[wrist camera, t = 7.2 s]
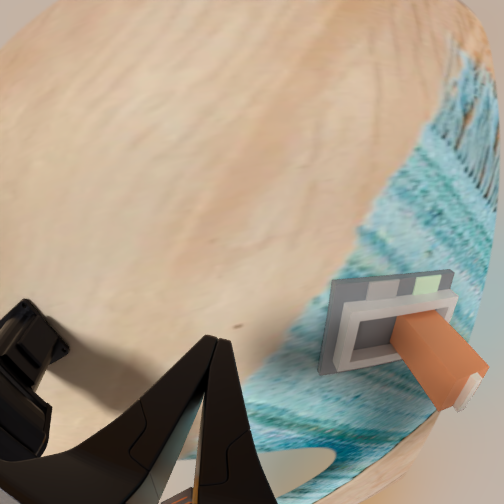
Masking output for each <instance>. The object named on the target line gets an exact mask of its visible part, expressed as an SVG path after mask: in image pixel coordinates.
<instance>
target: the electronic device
mask: <svg viewBox="0 0 504 504" xmlns="http://www.w3.org/2000/svg"><path fill="white" fill-rule="evenodd" d="M192 499H193V488H192V487H190V488H189V489H186V490H185V491H183V492H181V493H179V494H177V495H175V496H173V497H171V498H169V499H167V500H165V501H163V502H161V504H192Z"/></svg>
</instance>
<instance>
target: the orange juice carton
mask: <svg viewBox="0 0 504 504" xmlns="http://www.w3.org/2000/svg"><path fill="white" fill-rule="evenodd" d="M390 343H391V344H392V346H393V347H394V348H395V350H396V351H397V352H398V354H399V355H400V357H401V358H402V359H403V361H404V362H405V364H406V365H407V366H408V368H409V369H410V371H411V372H412V374H413V375H414V376H415V378H416V379H417V381H418V382H419V384H420V385H421V386H422V388H423V389H424V391H425V392H426V394H427V395H428V397H429V398H430V400H431V401H432V403H433V404H434V406H435V407H436V409H437V410H438V412H439V411H441V410H444V409H446V408H449V407H451V406H453V407H454V408H455V409H456V411H457V412H459V411H461V410H464V409H465V407H466V405H467V404H468V402H469V401H470V399H471V397H472V396H473V395H474V393H475V391H476V390H477V388H478V386H479V385H480V383H481V381H482V379H483V378H484V376H485V374H486V372H487V370H488V369H489V366H488V365H487V364H486V362H485V361H484V360H483V359H482V358H481V357H480V356H479V355H478V354H477V353H476V352H475V350H474V349H472V347H471V346H470V345H469V344H468V343H467V342H466V341H465V340H464V339H463V338H462V337H461V336H460V335H459V334H458V333H457V332H456V331H455V329H454V328H453V327H452V326H451V325H450V324H449V323H448V322H447V321H446V320H445V319H444V318H443V317H442V316H441V315H440V314H439V313H438V312H437V311H436V310H435V309H434V310H428V311H423V312H417V313H412V314H406V315H400V316H397V318H396V322H395V325H394V328H393V332H392V335H391V338H390Z"/></svg>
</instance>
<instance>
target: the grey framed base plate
mask: <svg viewBox="0 0 504 504" xmlns="http://www.w3.org/2000/svg"><path fill="white" fill-rule="evenodd" d="M453 277H454V272H453V271H452V270H450V269H447V270H438V271H428V272H418V273H408V274H397V275H386V276H374V277H363V278H350V279H337V280H332V285H331V292H330V299H329V306H328V312H327V319H326V325H325V331H324V337H323V342H322V348H321V354H320V359H319V364H318V369H317V370H318V373H319V375H320V376H321V375H327V374H333V373H339V372H345V371H351V370H356V369H362V368H367V367H372V366H377V365H381V364H386V363H390V362H395V361H399V360H403V359H402V358H401V357H400V355H399V354H398V352H397V351H396V350H395V348H394V347H393V346H392V344H391V343H390V338H391V335H392V332H393V328H394V325H395V322H396V318H397V316H400V315H406V314H412V313H417V312H423V311H428V310H434V309H435V310H436V311H437V312H438V313H439V314H440V315H441V316H442V317H443V318H444V319H445V320H446V321H447V322H448V323H450V320H451V317H452V315H453V312H454V309H455V306H456V303H457V300H458V297H459V296H458V295H457V294H456V293H454V292H453V291H452V290H451V289H450V287H451V284H452V280H453Z"/></svg>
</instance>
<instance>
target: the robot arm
mask: <svg viewBox="0 0 504 504" xmlns="http://www.w3.org/2000/svg"><path fill="white" fill-rule="evenodd" d="M69 351H70V348H69V346H68V345H67V344H66V343H65V342H64V341H63V340H62V339H61V338H60V337H59V336H58V335H57V333H56V332H55V331H54V330H53V329H52V328H51V327H50V326H49V325H48V323H47V322H46V321H45V320H44V319H43V318H42V317H41V315H40V314H39V313H38V312H37V311H36V309H35V308H34V307H33V306H32V305H31V303H30V302H29V301H28V300H27V299H22V300H21V301H20V302H19V303H18V304H17V305H16V306H15V307H14V308H12V309H11V310H10V311H9V312H8V313H7V314H6V315H5V316H4V317H3V318H2V319H1V320H0V504H158V503H159V500H160V498H161V496H162V493H163V491H164V489H165V487H166V484H167V482H168V480H169V477H170V475H171V473H172V470H173V468H174V466H175V463H176V461H177V459H178V456H179V454H180V452H181V449H182V447H183V445H184V442H185V440H186V438H187V435H188V433H189V431H190V428H191V426H192V424H193V421H194V419H195V416H196V414H197V412H198V409H199V407H200V405H201V402H202V399H203V396H204V399H203V406H202V414H201V423H200V432H199V440H198V450H197V459H196V468H195V478H194V488H193V499H192V504H278V503H277V501H276V499H275V497H274V495H273V493H272V490H271V488H270V486H269V483H268V481H267V479H266V476H265V474H264V471H263V469H262V467H261V464H260V461H259V458H258V455H257V452H256V449H255V445H254V441H253V437H252V433H251V430H250V425H249V421H248V417H247V412H246V408H245V403H244V399H243V395H242V390H241V385H240V381H239V376H238V372H237V367H236V362H235V357H234V353H233V348H232V343H231V341H230V340H226V339H222V338H219V339H218V338H217V337H215V336H211V335H204V336H203V337H202V338H201V339H200V340H199V341H198V342H197V343H196V344H195V345H194V346H193V347H192V348H191V349H190V350H189V351H188V352H187V353H186V354H185V355H184V356H183V357H182V358H181V359H180V360H179V361H178V362H177V363H176V364H175V365H174V366H173V367H172V368H170V369H169V370H168V371H167V372H166V373H165V374H164V375H163V376H162V377H161V378H160V379H159V380H158V381H157V382H156V383H155V384H154V385H153V386H152V387H151V388H150V389H149V390H148V391H147V392H146V393H144V394H143V395H142V396H141V397H140V400H137V401H136V402H135V403H134V404H133V405H132V406H131V407H129V408H128V409H127V410H126V411H125V412H124V413H123V414H121V415H120V416H119V417H118V418H116V419H115V420H114V421H112V422H111V423H110V424H108V425H107V426H106V427H104V428H103V429H101V430H100V431H98V432H97V433H95V434H94V435H93V436H91V437H90V438H88V439H87V440H85V441H84V442H82V443H81V444H79V445H77V446H76V447H74V448H72V449H70V450H68V451H65V452H62V453H58V454H53V455H49V456H44V457H41V456H42V454H43V452H44V451H45V449H46V447H47V443H48V439H49V430H50V422H51V414H52V406H51V405H50V404H48V403H46V402H45V401H44V400H43V399H41V398H40V397H39V396H38V395H37V394H36V393H35V392H36V390H37V388H38V386H39V384H40V382H41V380H42V377H43V375H44V373H45V371H46V369H47V367H48V365H50V364H52V363H53V362H55V361H57V360H59V359H60V358H62V357H64V356H65V355H67V354H68V353H69ZM204 393H205V394H204Z"/></svg>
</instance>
